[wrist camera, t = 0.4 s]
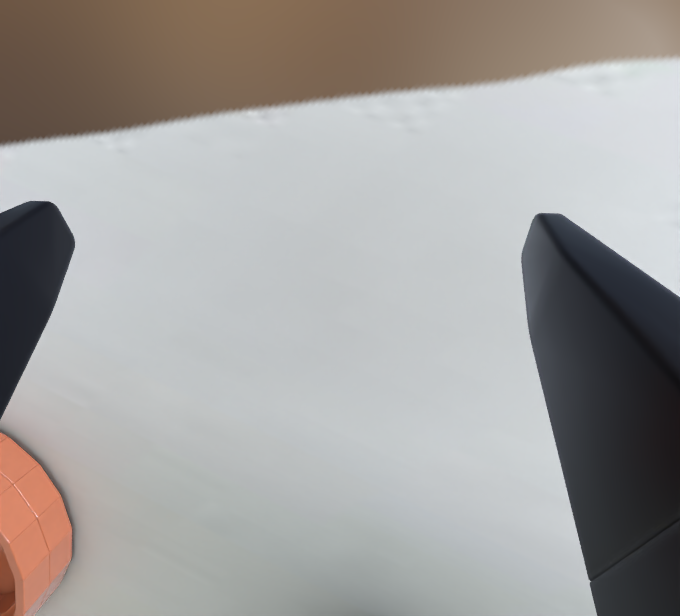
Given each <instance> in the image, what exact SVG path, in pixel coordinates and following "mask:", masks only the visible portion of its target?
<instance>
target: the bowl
mask: <svg viewBox="0 0 680 616" xmlns="http://www.w3.org/2000/svg"><path fill="white" fill-rule="evenodd" d="M71 558H72V526H71V523H70V521H69V518H68V515H67V512H66V509H65V506H64V503H63V500H62V497H61V495H60V493H59V492H58V490H57V489H56V487H55V486H54V484H53V483H52V481H51V480H50V479H49V477H48V476H47V474H46V473H45V471H44V470H43V468H42V467H41V465H40V464H38V462H37V461H35V460H34V459H33V458H32V457H31V456H30V455H29V454H28V453H26V452H25V451H24V450H23V449H22V448H21V447H20V446H19V445H17V444H16V443H15V442H14V441H13V440H12V439H11V438H10V437H8V436H7V435H5V434H3V433H1V432H0V616H34V615H35V613H36V612H37V611H38V610H39V609H40V607H41V606H42V605H43V604H44V603H45V601H46V600H47V599H48V598H49V596H50V595H51V594H52V593H53V592H54V590H55V589H56V588H57V587H58V586H59V584H60V583H61V581H62V579H63V577H64V574H65V572H66V570H67V568H68V566H69V563H70V561H71Z"/></svg>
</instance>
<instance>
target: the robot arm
mask: <svg viewBox="0 0 680 616" xmlns="http://www.w3.org/2000/svg"><path fill="white" fill-rule="evenodd" d="M74 248H75V240H74V236H73V234H72V232H71V230H70V229H69V227H68V225H67V223H66V221H65V220H64V218H63V216H62V214H61V212H60V211H59V209H58V208H57V206H56V205H55V204H53V203H51V202H48V201H29V202H26V203H23V204H21V205H19V206H16V207H14V208H12V209H9V210H7V211H5V212H2V213H0V419H1V417H2V415H3V413H4V411H5V409H6V407H7V405H8V403H9V401H10V399H11V397H12V395H13V392H14V390H15V388H16V386H17V384H18V382H19V380H20V378H21V376H22V374H23V372H24V370H25V368H26V366H27V364H28V361H29V359H30V357H31V355H32V353H33V351H34V349H35V347H36V345H37V343H38V341H39V339H40V337H41V335H42V332H43V330H44V328H45V326H46V324H47V322H48V320H49V318H50V316H51V313H52V311H53V308H54V306H55V303H56V300H57V298H58V295H59V292H60V289H61V286H62V283H63V280H64V277H65V275H66V272H67V269H68V266H69V263H70V260H71V257H72V254H73V251H74ZM521 263H522V273H523V282H524V292H525V301H526V311H527V320H528V328H529V334H530V339H531V344H532V348H533V352H534V356H535V360H536V364H537V368H538V372H539V376H540V381H541V385H542V389H543V393H544V397H545V401H546V405H547V409H548V413H549V418H550V422H551V426H552V430H553V434H554V438H555V442H556V446H557V450H558V455H559V459H560V463H561V467H562V471H563V475H564V479H565V483H566V487H567V492H568V496H569V500H570V504H571V508H572V512H573V516H574V520H575V524H576V528H577V533H578V537H579V541H580V545H581V549H582V553H583V557H584V561H585V565H586V570H587V574H588V578H589V580H590V581H591V582H590V587H591V591H592V596H593V600H594V604H595V608H596V612H597V616H680V297H679V296H677V295H676V294H674V293H673V292H671V291H670V290H669V289H667V288H666V287H664V286H663V285H662V284H660V283H659V282H657V281H656V280H654V279H653V278H652V277H650V276H649V275H647V274H646V273H644V272H643V271H642V270H640V269H639V268H637V267H636V266H634V265H633V264H632V263H630V262H629V261H627V260H626V259H625V258H623V257H622V256H620V255H619V254H617V253H616V252H615V251H613V250H612V249H610V248H609V247H607V246H606V245H605V244H603V243H602V242H600V241H599V240H597V239H596V238H595V237H593V236H592V235H590V234H589V233H588V232H586V231H585V230H583V229H582V228H580V227H579V226H578V225H576V224H575V223H573V222H572V221H570V220H569V219H568V218H566V217H565V216H563V215H562V214H554V213H539V214H537V215H536V216H535V217H534V219H533V221H532V223H531V226H530V229H529V232H528V235H527V238H526V241H525V244H524V247H523V251H522V257H521Z"/></svg>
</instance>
